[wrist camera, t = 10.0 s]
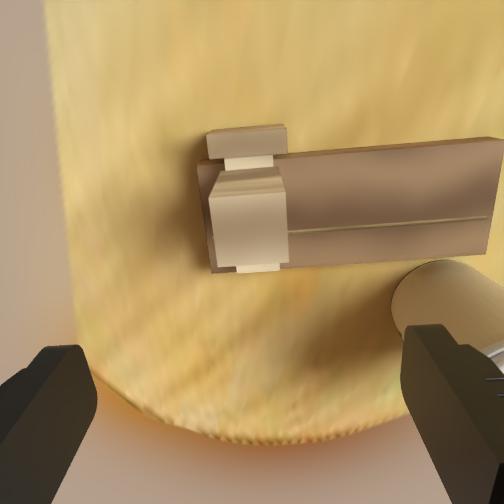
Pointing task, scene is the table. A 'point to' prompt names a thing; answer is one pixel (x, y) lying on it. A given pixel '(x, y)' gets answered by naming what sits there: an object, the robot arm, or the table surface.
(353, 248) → the board
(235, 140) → the beige stepped block
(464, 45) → the table surface
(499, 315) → the coffee cup
